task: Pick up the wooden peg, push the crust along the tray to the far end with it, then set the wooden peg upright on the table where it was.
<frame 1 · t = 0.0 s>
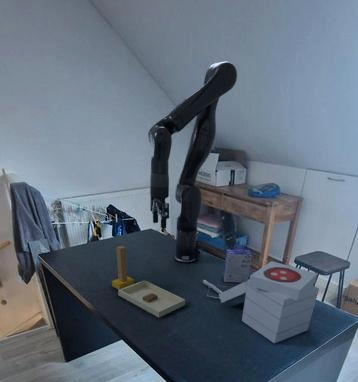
hand: (159, 225, 142), 17 cm above the table, tool pointing down, fingers open, 8 cm apart
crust: (150, 299, 120), point 1 cm above the table, touching tray
ink cartridge box: (235, 280, 139), on the table
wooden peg: (123, 287, 130), on the table
crossbow: (216, 292, 129), on the table
tray: (151, 301, 120), on the table
pizza boxes: (261, 318, 113), on the table
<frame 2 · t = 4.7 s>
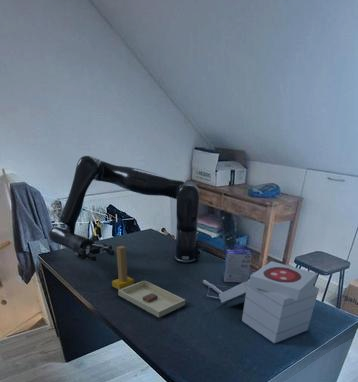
hand: (104, 255, 131), 10 cm above the table, tool horizontal, fingers open, 8 cm apart
nothing on the table moved.
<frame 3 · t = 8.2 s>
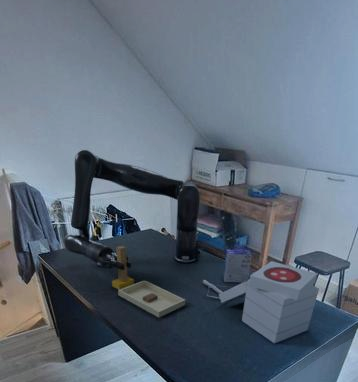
hand: (126, 266, 123), 10 cm above the table, tool horizontal, fingers closed on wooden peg, 2 cm apart
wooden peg: (123, 287, 130), on the table, touching gripper
everything else where it was.
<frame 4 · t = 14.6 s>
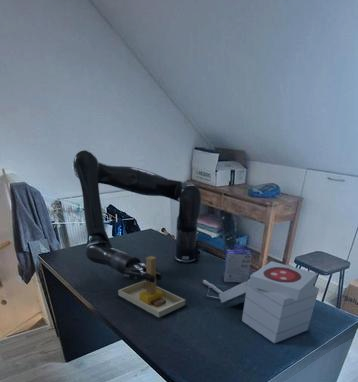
hand: (157, 278, 113), 10 cm above the table, tool horizontal, fingers closed on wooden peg, 2 cm apart
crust: (158, 303, 118), point 1 cm above the table
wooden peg: (151, 299, 120), point 1 cm above the table, touching gripper
everything else where it was.
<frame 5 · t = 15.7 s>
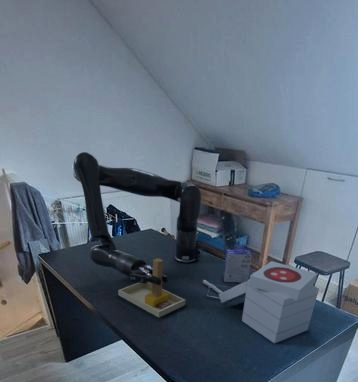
hand: (163, 281, 111), 10 cm above the table, tool horizontal, fingers closed on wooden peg, 2 cm apart
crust: (164, 306, 116), point 1 cm above the table, touching tray
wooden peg: (156, 302, 118), point 1 cm above the table, touching gripper, tray
everything else where it was.
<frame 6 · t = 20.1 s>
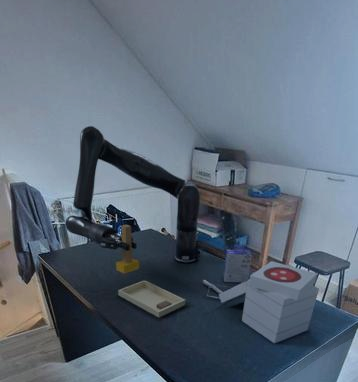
hand: (132, 246, 116), 18 cm above the table, tool horizontal, fingers closed on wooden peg, 2 cm apart
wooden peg: (127, 269, 123), point 8 cm above the table, touching gripper
everything else where it was.
when the fingers open (9 cm above the table, at t = 23.2 s): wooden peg stays where it is, on the table.
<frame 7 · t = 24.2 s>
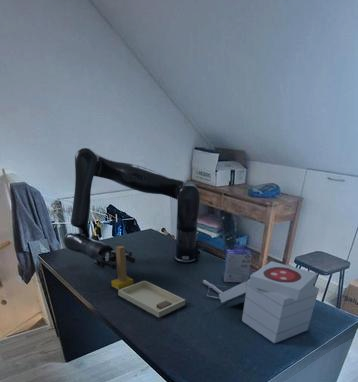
hand: (125, 263, 123), 10 cm above the table, tool horizontal, fingers open, 8 cm apart
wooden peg: (122, 287, 130), on the table
everything else where it was.
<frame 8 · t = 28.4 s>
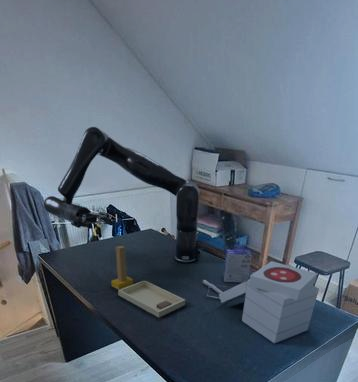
hand: (101, 223, 124), 22 cm above the table, tool horizontal, fingers open, 8 cm apart
nothing on the table moved.
at the end: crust inside the target area in the tray (0.3 cm from its centre), point 0.8 cm above the tray's base; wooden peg 0.3 cm from the target spot, on the table; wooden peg tilted 0° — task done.
